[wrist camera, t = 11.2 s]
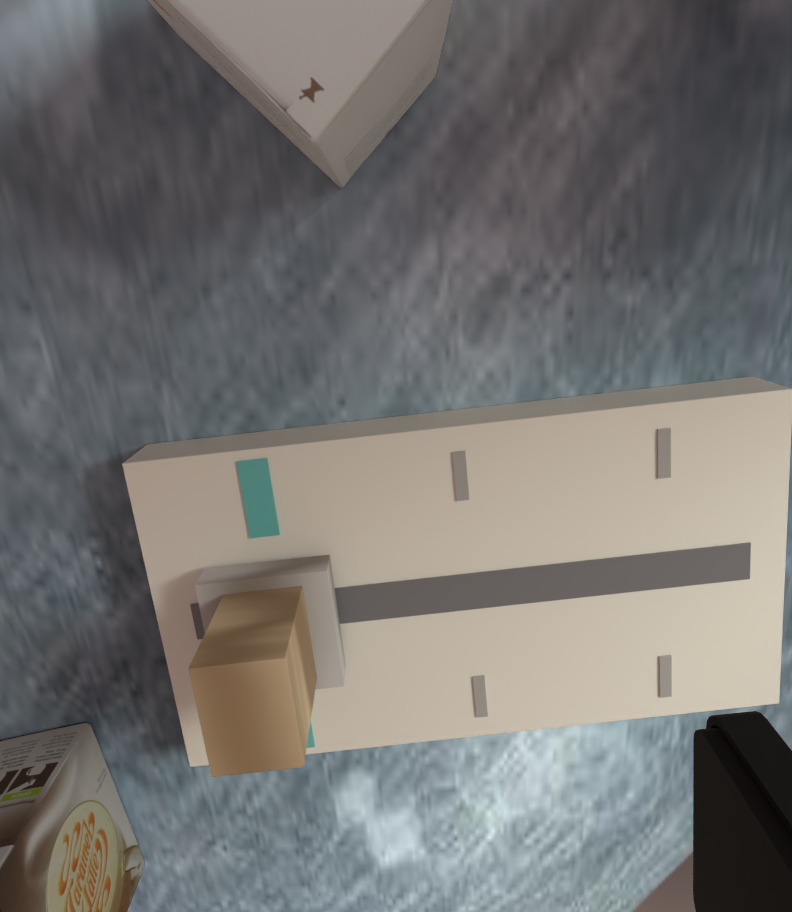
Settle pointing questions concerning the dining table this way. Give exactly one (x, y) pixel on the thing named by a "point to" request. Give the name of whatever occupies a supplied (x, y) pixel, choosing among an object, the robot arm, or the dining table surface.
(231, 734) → the fader
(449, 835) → the dining table surface
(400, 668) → the console
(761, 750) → the robot arm
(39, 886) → the coffee box
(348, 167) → the small box
